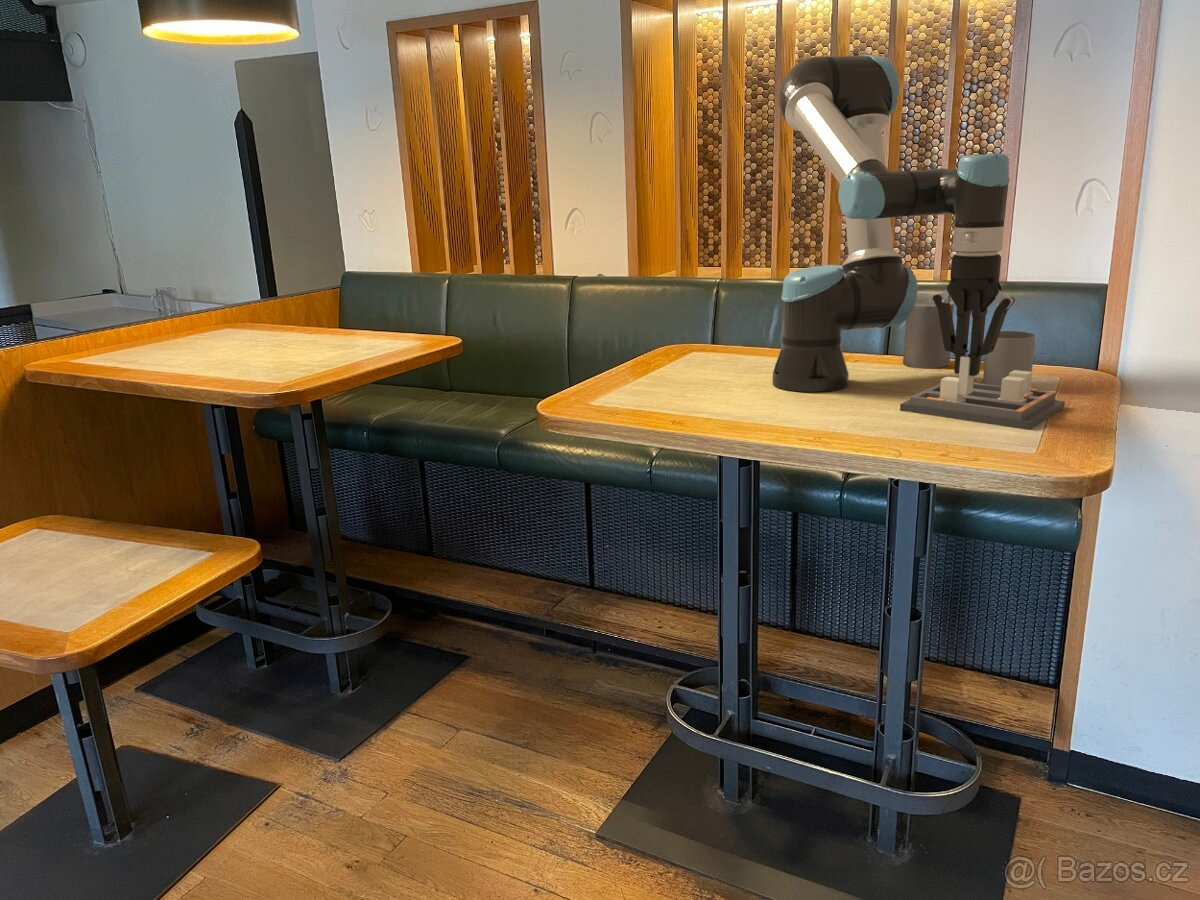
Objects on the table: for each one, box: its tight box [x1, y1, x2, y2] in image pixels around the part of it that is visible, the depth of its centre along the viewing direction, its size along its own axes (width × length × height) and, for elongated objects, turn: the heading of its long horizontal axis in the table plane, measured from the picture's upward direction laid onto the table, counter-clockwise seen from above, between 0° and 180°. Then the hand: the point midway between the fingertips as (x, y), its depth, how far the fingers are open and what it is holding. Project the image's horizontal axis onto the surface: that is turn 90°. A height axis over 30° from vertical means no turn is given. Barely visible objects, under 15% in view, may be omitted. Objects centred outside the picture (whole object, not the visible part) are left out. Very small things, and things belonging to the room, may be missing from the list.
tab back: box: [1009, 370, 1033, 396], centre depth 152 cm, size 4×3×5 cm
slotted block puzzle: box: [899, 382, 1066, 431], centre depth 152 cm, size 22×17×3 cm
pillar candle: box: [902, 295, 955, 370], centre depth 188 cm, size 10×10×15 cm
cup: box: [982, 330, 1036, 386], centre depth 167 cm, size 8×8×10 cm
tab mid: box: [998, 376, 1027, 403], centre depth 148 cm, size 4×3×5 cm
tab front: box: [940, 376, 966, 403], centre depth 150 cm, size 4×3×5 cm
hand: (965, 393), depth 149 cm, fingers closed
